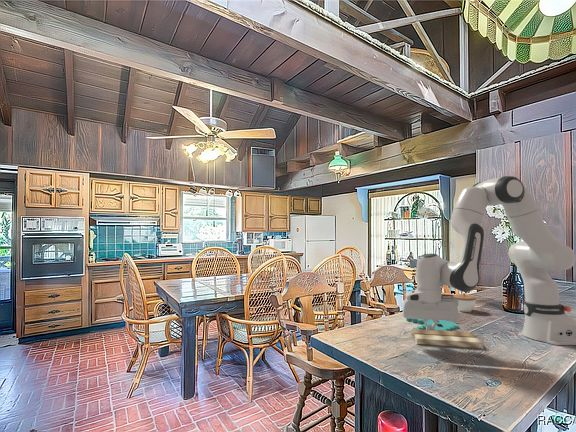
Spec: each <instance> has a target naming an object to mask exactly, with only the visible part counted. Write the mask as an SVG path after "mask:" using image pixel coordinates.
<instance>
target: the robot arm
mask: <svg viewBox="0 0 576 432" xmlns="http://www.w3.org/2000/svg"><path fill="white" fill-rule="evenodd" d="M499 205H501V206H502V207H503V208H504V212H505V215H506V219H507V221H508V223H509V226H510V227H511V231H512V233H513V234H514V235H515V236H516V237H518V238H519V239H521V240H522V241H520V242H515V243H513V244H511V246H510V247H509V248H508V252H507V254H508V258H509V260H510V261H511V262H512V263H513V264H514V265H515V267H516V268H517V269H518V271H519V274H520V275H521V278H522V283H523V289H524V290H523V291H524V300H523V312H524V324H523V328H522V331H521V334H522V336H524V337H526V338H528V339H531V340H536V341H538V342H544V343H546V344H551V345H554V346H576V319H574V318H572V317H571V315H569V314H567V313H566V312H568V313H570V312H571V311H572V308H571V307H570V306H568V305H563V304H562V303H560V296H559V293H560V292H559V284H558V283H557V282H556V281H555V280H554V279H553V278H552V277H551V276H550V275H549V273H548V271H552V272H554V271H555V272H556V271H568V270H570V269H572V267H573V266H574V265H575V263H576V254H575V252H574V250H573V249H572V248H571V247H570V246H568V245H566V244H564V243H563V242H561V241H560V240H559V239H558V238H557V237H556V236H555V235H554V234H553V233H552V232H551V231H550V230H549V228H548V227H547V225H546V223H545V221H544V218H543V217H542V214H541V211H540V209H539V207H538V204H537V203H536V200H535V198H534V197H533V195H532V193H531V192H530V191H529V189H528V188H527V187H525V185H524V184H523V181H521V180H520V179H519V178H518V177H516V176H510V175H509V176H508V175H507V176H506V175H505V176H502V177H493V178H490V179H488V180H487V179H486V180H484V181H479V182H476V183H475V184H473V185H472V186H467V187H465V188H463V189H462V190H461V192H460V194H459V195H458V198H457V199H456V202H455V204H454V206H453V210H452V212H451V216H450V225H451V227H452V229H453V230H454V231H455V232H456V233H458V234H459V235H461V236H462V237H463V238H462V239H463V240H464V242H463V249H462V253H461V259H460V261H459V262H458V263H457V262H453V261H449V260H447V259H444V258H442V257H441V256H440V255H438V254H436V253H425V254H421V255H420V256H418V257H417V260H416V268H415V269H416V271H415V272H416V274H415V275H416V279H417V284H416V289H413V290H409V291H407V292H405V295H404V296H405V299H404V300H403V303H402V316H403V317H404V318H405V319H406V318H408V319H423V322H424V323H425V325H426V329H425V330H427V331H435V326H436V325H437V323H438V320H448V321H450V322H457V321H459V319H460V316H459V309H458V308H457V307H458V305H459V304H458V299H457V298H456V297H454V295H442V286H446V287H449V288H454V289H456V290H458V291H460V292H462V293H468V292H472V291H474V290H475V289H476V288H477V287H478V285H479V283H480V265H481V264H480V263H481V257H482V253H483V246H484V238H485V237H484V236H485V232H484V228H483V220H484V217H485V212H486V209H487V207H491V206H499ZM454 298H455V299H454ZM427 319H428V320H433V322H434V323H433V324H432V325H427V323H426V322H427Z"/></svg>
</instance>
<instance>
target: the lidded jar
mask: <svg viewBox="0 0 576 432" xmlns="http://www.w3.org/2000/svg"><path fill="white" fill-rule="evenodd" d="M453 296H454V297H456V298H457V299H458V304H459V305H458V307H457V308H458V312H462V313H464V312H465V313H471V312H472V311H473V310H474V309H475V308H476V302H477V297H476V296H475V295H471V294H466V292H462V294H461V293H458V294H453ZM454 299H455V298H454Z"/></svg>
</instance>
